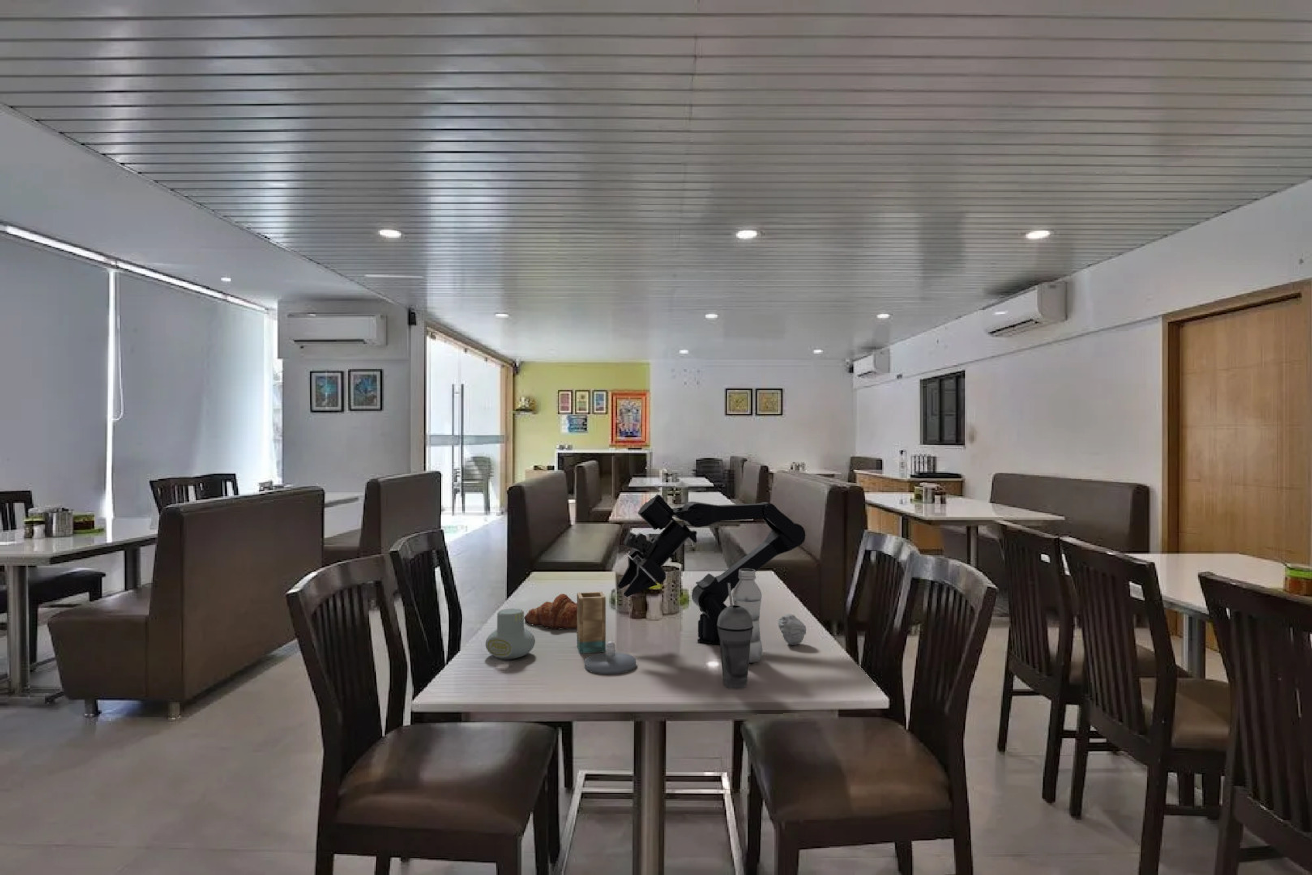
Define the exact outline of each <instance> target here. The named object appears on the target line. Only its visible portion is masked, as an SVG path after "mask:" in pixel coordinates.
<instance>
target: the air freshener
mask: <svg viewBox="0 0 1312 875" xmlns="http://www.w3.org/2000/svg"><path fill="white" fill-rule="evenodd" d="M524 612H525V611H523V609H520V608H504V609H500V610H499V611H497V613H496V614H497V616H496V619H497V620H496V630H494V631H492V632H491V633H490V634H488V637H486V639H485V648H486V650H487V652H488V653H489V654H490V655H491V656H493V657H495V658H498V659H500V660H503V661H504V660H505V661H507V660H508V661H509V660H513V659H519V658H523V657H524V656H526V655H527V654H529V653H530V652H531V651H532V650H533V649H534V647H535V644H536V638H535V635H534V634H533V633H532V632H531V631H530V630H528V629H527V628H525V619H524V617H525V616H524V614H525V613H524Z"/></svg>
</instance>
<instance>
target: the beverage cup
mask: <svg viewBox="0 0 1312 875" xmlns="http://www.w3.org/2000/svg"><path fill="white" fill-rule="evenodd" d="M728 591H729V596H728V598H729V605H728V606H727V607H726V608H725V609H724V610H723V611H722V612H721V613H720V615H719V617H718V623H717V628H718V635H719V638H720V645H719V648H720V661H721V672H722V674H721V675H722V678H723V679H722V680H723V686H724V687H725V688H727V689H728V688H729V689H734V690H737V689H738V690H739V689H744V688H746V687H747V683H748V677H749V666H750V665H749V664H750V663H749V654H750V641H751V637H752V631H753V623H752V619H751V616H750V614H749V613H748V611H747V610H746V609H744V608H743V607H741V606H738V605H734V603H733V595H732V591H731V587H730V583H728Z"/></svg>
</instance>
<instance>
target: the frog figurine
mask: <svg viewBox="0 0 1312 875" xmlns="http://www.w3.org/2000/svg"><path fill="white" fill-rule="evenodd" d="M777 624H778V628H779V630H780V632H781V634H782V637H783V639H784V641H785V642H786V643H787V644H788V645H791V646H797V645H799V644H801V643H802V642H803V641H804V638H805V635H807V628H806V627H807V626H806V625H805V623H803V622H802V621H801V619H799V618H798V617H796V615H794V614H791V613H788V614H784V615H783V616H781V617H779V619H778V623H777Z"/></svg>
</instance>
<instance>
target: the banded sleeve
mask: <svg viewBox="0 0 1312 875" xmlns="http://www.w3.org/2000/svg"><path fill="white" fill-rule="evenodd" d="M606 599H607V598H606V596H605V594H604V592H603V591H588V592H587V591H586V592H585V591H584V592H577V593H576V603H577V628H576V647H577V650H578V652H579V653H578V654H589V653H590V654H591V653H606V644H607V641H606V639H607V638H606V637H607V636H606V634H607V633H606V630H607V629H606V627H607V625H606V623H607V622H606V619H607V617H606V614H607V613H606V611H607V609H606V605H607V603H606V601H607V600H606Z"/></svg>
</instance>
